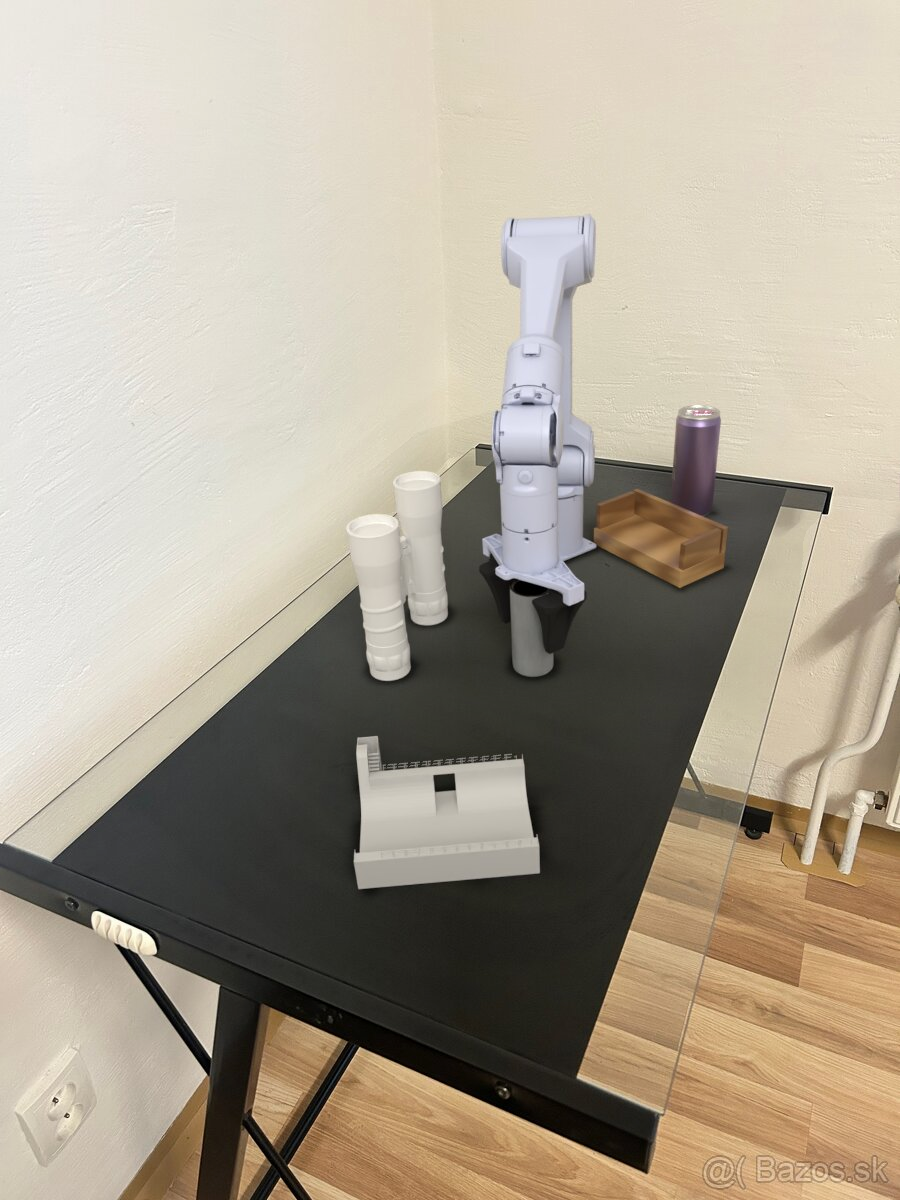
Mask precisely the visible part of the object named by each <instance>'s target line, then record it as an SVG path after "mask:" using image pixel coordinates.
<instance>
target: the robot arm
mask: <svg viewBox="0 0 900 1200" xmlns="http://www.w3.org/2000/svg"><path fill="white" fill-rule="evenodd" d="M596 227H597V226H596V220H595V218H594V217H593V216H592V214H590V213H589V214H584V215H575V216H550V217H549V216H547V217H526V218H515V217H508V218H506V220H505V222H504V223H503V224H502V228H501V235H500V236H501V237H500V253H501V254H500V258H501V268H502V272H503V274H504V276H505V277H506V278H507V279H508V284H509V285H511V286H513V287H514V288H518V289H520V305H519V306H520V307H519V308H520V312H519V313H520V314H519V315H520V318H519V319H520V322H519V325H520V327H519V330H520V332H519V336H520V337H519V338H518V339H516V340H515V341H514V342H513V343H511V344H510V345H509V347H508V349H507V351H506V357H505V358H506V359H505V367H504V379H503V387H502V396H501V404H500V410H498V409H495V410H494V413H493V416H492V421H491V434H490V435H491V440H490V441H491V442H490V443H491V451H492V458H493V462H494V466H495V479H496V483H498V484H499V494H500V497H499V498H500V518H501V520H500V521H501V534H498V533H494V534H491V535H489V536H485V537H484V538H482V539H481V540H482V541H481V542H482V554H483V555H484V556H486V557H488V560H487V561H486V562H483V563H481V564H480V565H479V567H478V572H479V573H480V575H481V577H483V579H484V581H485V582H486V584H487V586H488V587H489V589H490V591H491V594H492V596H493V599H494V602H495V605H496V607H497V611H498V615H499V617H500V620H501V622H502V623H503V624H504V625H506V624H509V623H511V608H510V584H511V583H512V582H513V581H514V580H515V579H519V580H522V581H526V582H529V583H533V584H536V585H540V586H543V587H547V588H548V589H549V590H548V594H545V595H543V596H540V597H538V598H535V599H533V600H532V604H533V606H534V607H535V609H536V611H537V613H538V616H539V619H540V623H541V627H542V637H543V645H544V649H545V651H546V652H547V653H549V654H552V653H553V654H554V653H556V652H558V651H560V650H563V649H564V648H565V644H566V641H567V638H568V635H569V632H570V629H571V626H572V624H573V621H574V619H575V617H576V615H577V613H578V612H579V610H580V609H581V607H582V606H583V604H584V603H585V601H586V600H587V594H588V592H587V591H586V590H585V582H583V581H581V580H580V579H579V578H578V577H576V575H575V574H574V573H573V571H572V570H571V569H570V568H569V567H568V565H567V564H566V563H565V561H567V560H570V559H572V558H575V557H577V556H580V555H583V554H585V553H588V552H590V551H592V550H595V549H596V548H597V547H598V546H597V545H596V544H595V543H594V541H591V540H589V539H587V538H585V537H584V492H585V488H590V486H592V484H594V478H595V477H594V476H595V458H596V457H595V456H596V455H595V454H596V446H595V442H594V441H595V440H594V439H595V438H594V435H595V434H594V433H595V431H594V430H593V427H592V426H591V425H590V424H589V423H587V422H585V421H584V420H582V419H581V418H579V417H578V416H576V415H575V414H574V413H573V299H574V297H575V294H576V292H577V289H578V287H581V286H584V285H587V284H590V283H592V282H593V278H594V277H595V264H596V248H597V247H596V244H597V243H596V239H597V237H596V236H597V232H596V231H597V230H596V229H597V228H596Z"/></svg>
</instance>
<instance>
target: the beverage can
mask: <svg viewBox="0 0 900 1200" xmlns="http://www.w3.org/2000/svg"><path fill="white" fill-rule="evenodd" d="M721 424H722V419H721V410H719V409H718V408H717V407H715V406H712V405H711V406H710V405H703V404H694V405H693V404H692V405H685V406H683V407H680V408H679V409H678V411H677V416H676V418H675V431H674V445H673V458H672V459H673V461H672V474H671V487H670V488H671V489H670V501H669V502H670V503H672V504H675V505H677V506H679V507H682V508H684V509H687V510H689V511H691V512H694V513H696V514H698V515H701V516H703V517H706V516H708V515H709V514H710V513H711V512H712V510H713V507H714V496H715V487H716V486H715V485H716V477H717V467H718V457H719V456H718V454H719V447H720V446H719V445H720V434H721Z"/></svg>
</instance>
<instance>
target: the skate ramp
mask: <svg viewBox="0 0 900 1200" xmlns="http://www.w3.org/2000/svg"><path fill="white" fill-rule="evenodd" d="M356 739H357V741H356V742H357V743H356V750H355V751H356V753H355V754H356V766H357V775H358V776H357V777H358V778H357V779H358V785H359V786H358V787H359V797H360V799H359V800H360V814H361V817H360V835H359V836H360V837H359V852H356V850H354V852H353V866H354V871H355V878H356V884H357V889H358V890H365V889H375V888H376V889H377V888H387V887H388V888H389V887H398V886H399V887H400V886H409V885H420V884H433V883H444V882H456V881H467V880H477V879H478V880H481V879H491V878H501V877H514V876H524V875H535V874H540V873H541V867H540V866H541V864H540V859H541V858H540V856H541V855H540V841H539V837H538V835H536V837H534V830H533V826H532V820H531V815H530V809H529V803H528V796H527V786H526V773H525V771H526V769H525V762H524V755H523V754H521V758H517V756H515V759H509V758H510V755H511V753H507V754H505V759H503V760H499V757H498V756H500V754H498V755H497V754H496V755H494V757H493V758H492V760H493V761H485V760H487V758H485V757H488V755H487V756H486V755H484V756H483V758H481V761H482V762H481V761H480V762H474V761H475V759H476V758H477V756H473V757H472V756H471V757H470V759H469V762H471V763H463V762H464V760H465V757H460V758H458V760H460V761H457V764H451V761H452V760H453V758H452V759H451V758H450V759H447V761H446V764H447V765H440V762H441V761H442V759H439V760H438V759H437V760H435V762H437V763H434V765H436V766H434V765H433V766H428V765H430V760H428V761H427V760H425V761H424V763H425V764H423V767H417V764H418V763H419V761H416V762H415V761H414V762H412V764H414V765H412V764H411V768H406V766H407V762H402V763H400V766H399V768H401V769H395V768H396V763H390V764H389V766H390V767H388V769H389V770H385V767H384V766H385V765H383V764H382V757H381V749H380V742H379V741H380V740H379V736H378V735H373V736H363V737H359V736H358V737H357V738H356ZM474 758H475V759H474ZM463 759H464V760H463ZM497 759H498V760H497ZM401 765H403V766H401ZM448 774H449V775H451V774H454V783H455V790H444V791H436V789H435V788H436V787H435V778H434V776H438V775H448Z"/></svg>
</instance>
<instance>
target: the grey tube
mask: <svg viewBox="0 0 900 1200" xmlns="http://www.w3.org/2000/svg"><path fill="white" fill-rule="evenodd" d="M548 590H549V589H548V588H547V587H543V586H540V585H536V584H533V583H529V582H526V581H522V580H519V579H515V580H514V581H513V582H512V583H511V584H510V608H511V622H510V630H511V631H510V632H511V634H510V635H511V658H512V660H511V661H512V662H511V663H512V669H513V670H514V671H515V672H516V673H517V674H519V675H521V676H524V677H530V678H536V677H542V676H545V675H547V674H548V673H549V672H551V671H552V670H553V667H554V653H552V654H549V653H547V652H546V651H545V649H544V645H543V637H542V627H541V623H540V619H539V616H538V613H537V611H536V609H535V607H534V606H533V604H532V600H533V599H535V598H538V597H540V596H543V595H545V594H548Z"/></svg>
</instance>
